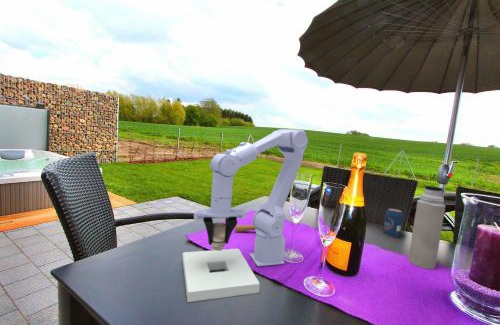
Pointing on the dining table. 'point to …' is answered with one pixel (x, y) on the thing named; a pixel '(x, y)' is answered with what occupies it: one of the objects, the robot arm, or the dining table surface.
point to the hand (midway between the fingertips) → (218, 242)
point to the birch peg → (218, 236)
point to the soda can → (393, 222)
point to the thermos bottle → (427, 228)
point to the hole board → (217, 275)
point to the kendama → (244, 228)
